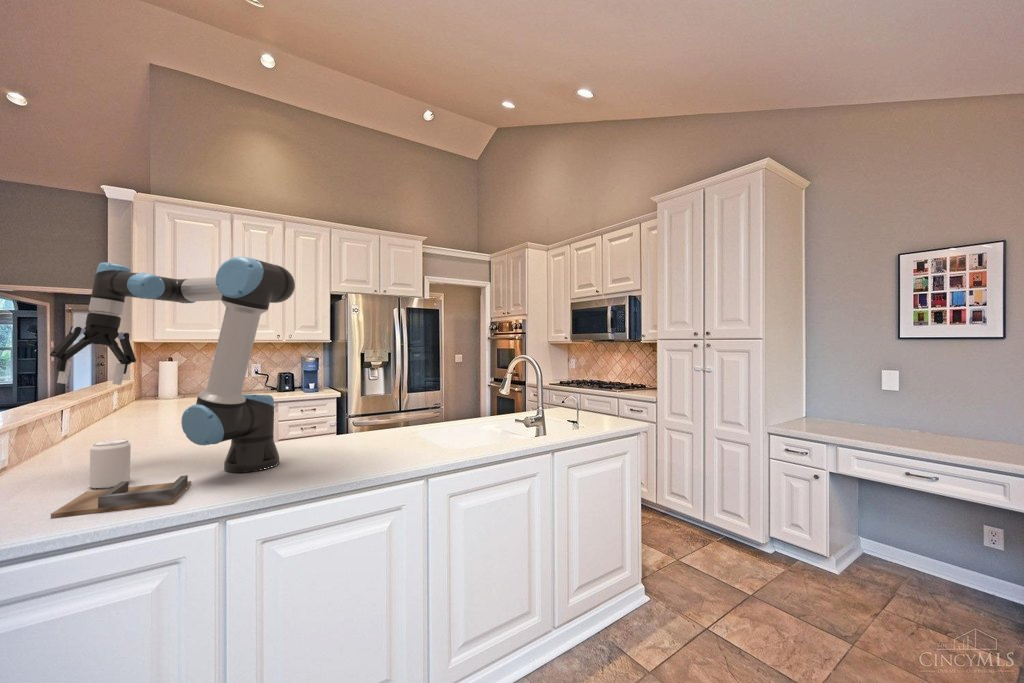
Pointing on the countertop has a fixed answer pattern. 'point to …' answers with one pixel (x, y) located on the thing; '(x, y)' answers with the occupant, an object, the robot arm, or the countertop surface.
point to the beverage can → (109, 463)
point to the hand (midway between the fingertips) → (90, 383)
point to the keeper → (124, 498)
